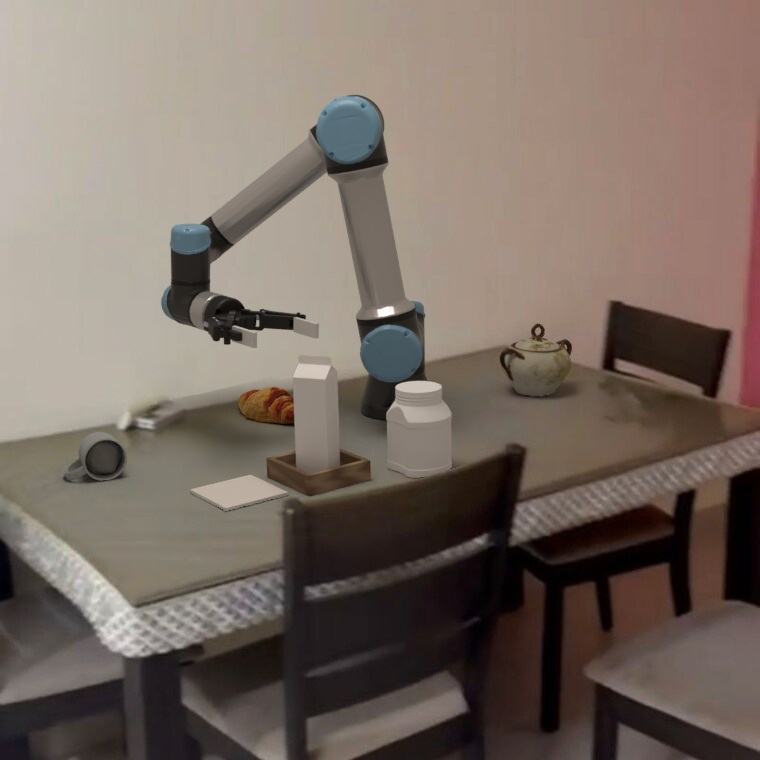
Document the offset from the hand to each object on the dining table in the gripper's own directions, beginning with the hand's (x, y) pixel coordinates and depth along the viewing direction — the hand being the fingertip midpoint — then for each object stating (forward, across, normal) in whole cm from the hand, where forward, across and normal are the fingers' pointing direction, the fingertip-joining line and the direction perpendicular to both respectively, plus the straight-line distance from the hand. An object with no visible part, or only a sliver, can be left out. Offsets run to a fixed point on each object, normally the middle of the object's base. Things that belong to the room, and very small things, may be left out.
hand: (286, 335), depth 220 cm
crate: (+10, 0, -24) cm, 26 cm away
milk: (+10, 0, -24) cm, 26 cm away
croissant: (-28, -17, -25) cm, 41 cm away
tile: (+7, +15, -24) cm, 30 cm away
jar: (+18, -16, -23) cm, 33 cm away
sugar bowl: (-2, -70, -22) cm, 73 cm away
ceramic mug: (-19, +28, -26) cm, 42 cm away
